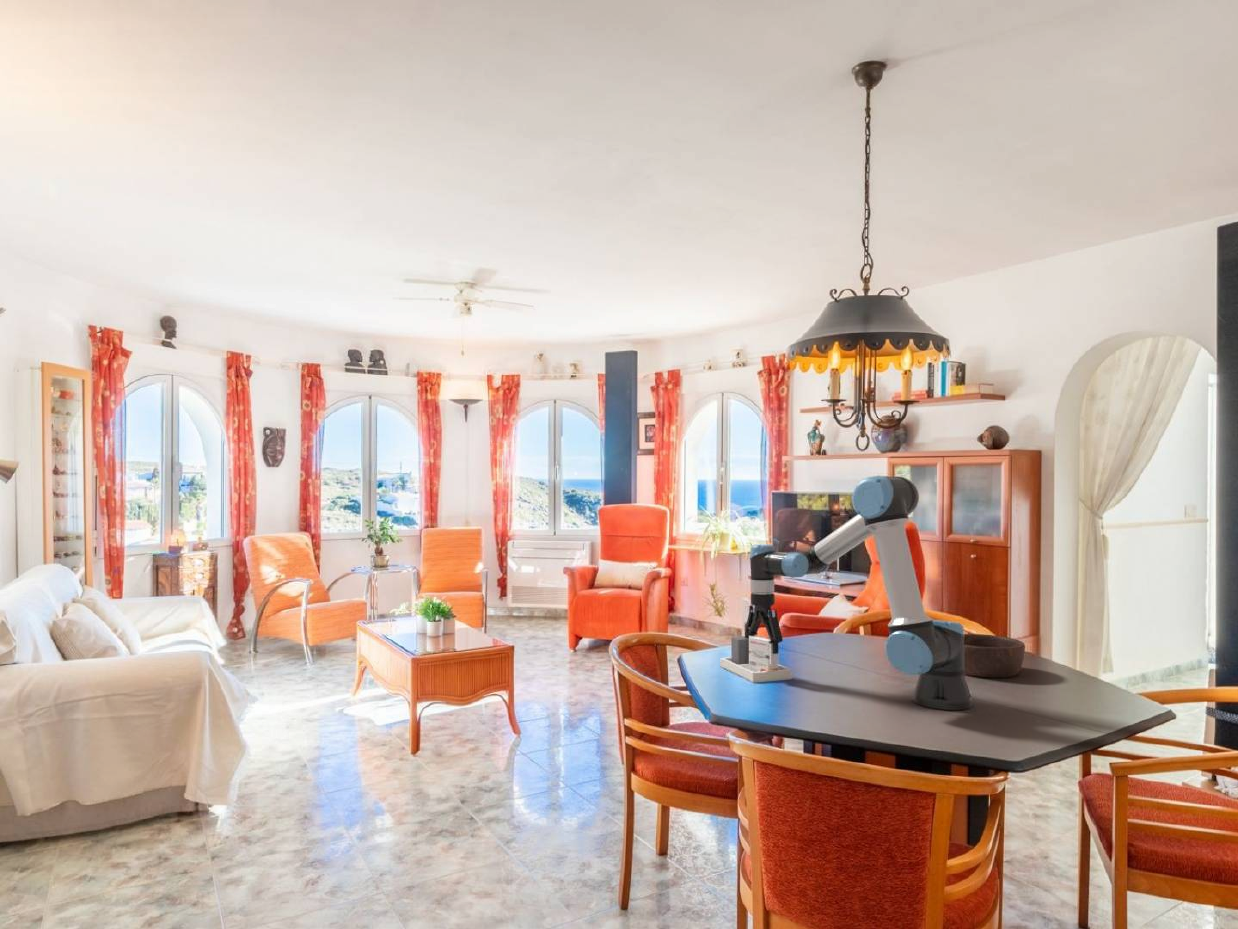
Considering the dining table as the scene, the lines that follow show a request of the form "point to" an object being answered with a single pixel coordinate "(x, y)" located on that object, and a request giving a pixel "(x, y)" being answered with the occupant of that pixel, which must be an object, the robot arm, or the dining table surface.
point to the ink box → (760, 655)
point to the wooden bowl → (992, 656)
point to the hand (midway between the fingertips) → (763, 659)
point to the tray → (754, 677)
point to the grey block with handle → (740, 649)
